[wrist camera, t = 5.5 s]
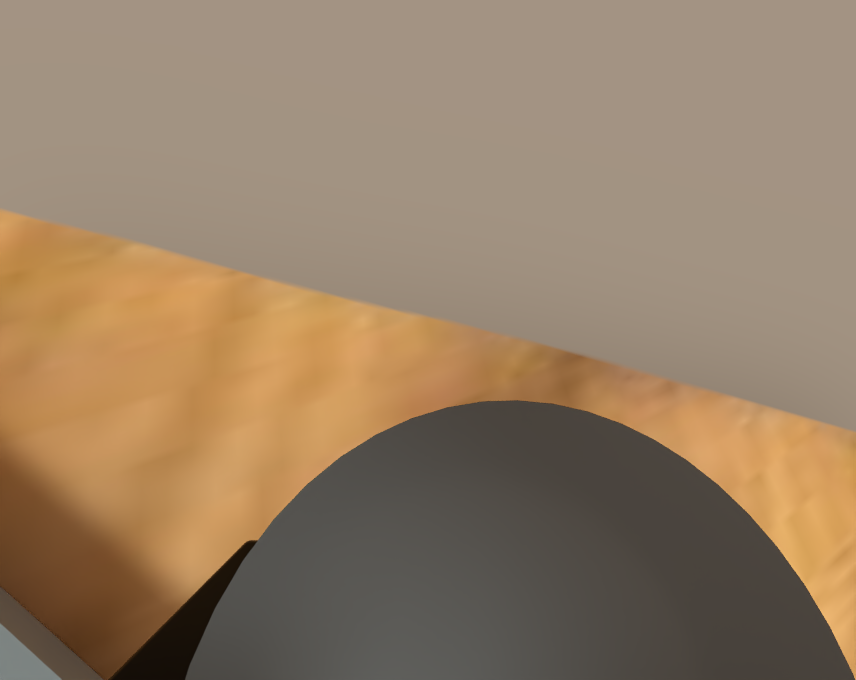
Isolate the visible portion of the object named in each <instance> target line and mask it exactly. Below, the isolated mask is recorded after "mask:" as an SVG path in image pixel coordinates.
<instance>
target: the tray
mask: <svg viewBox="0 0 856 680" xmlns="http://www.w3.org/2000/svg"><path fill="white" fill-rule="evenodd" d="M0 680H104V679H103V678H101V677H100V676H99V675H98V674H97V673H96V672H95V671H94V670H93V669H91V668H90V667H89V666H88V665H87V664H86V663H85V662H84V661H83V660H81V659H80V658H79V657H78V656H77V655H76V654H75V653H74V652H73V651H71V650H70V649H69V648H68V647H67V646H66V645H65V644H64V643H63V642H61V641H60V640H59V639H58V638H57V637H56V636H55V635H54V634H53V633H51V632H50V631H49V630H48V629H47V628H46V627H45V626H44V625H43V624H41V623H40V622H39V621H38V620H37V619H36V618H35V617H34V616H33V615H31V614H30V613H29V612H28V611H27V610H26V609H25V608H24V607H23V606H21V605H20V604H19V603H18V602H17V601H16V600H15V599H14V598H13V597H11V596H10V595H9V594H8V593H7V592H6V591H5V590H4V589H3V588H1V587H0Z"/></svg>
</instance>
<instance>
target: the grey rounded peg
mask: <svg viewBox="0 0 856 680" xmlns="http://www.w3.org/2000/svg"><path fill="white" fill-rule="evenodd" d="M185 680H855V678H854V676H853V673H852V671H851V669H850V667H849V665H848V663H847V661H846V659H845V657H844V655H843V653H842V651H841V649H840V647H839V645H838V643H837V641H836V639H835V637H834V634H833V632H832V630H831V628H830V626H829V625H828V623H827V621H826V620H825V618H824V616H823V615H822V613H821V611H820V610H819V608H818V606H817V605H816V603H815V601H814V600H813V598H812V596H811V595H810V593H809V591H808V590H807V588H806V586H805V585H804V583H803V582H802V581H801V579H800V578H799V576H798V575H797V574H796V572H795V571H794V570H793V568H792V567H791V565H790V564H789V563H788V561H787V560H786V558H785V557H784V556H783V554H782V553H781V552H780V550H779V549H778V547H777V546H776V545H775V544H774V543H773V542H772V540H771V539H770V538H769V537H768V536H767V535H766V534H765V532H764V531H763V530H762V529H761V528H760V527H759V525H758V524H757V523H756V522H755V521H754V520H753V519H752V517H751V516H750V515H749V514H748V513H747V512H746V511H745V510H744V509H743V508H742V507H741V506H740V505H739V504H738V503H737V502H735V501H734V500H733V499H732V498H731V497H730V496H729V495H728V494H727V493H726V492H725V491H724V490H723V489H722V488H721V487H720V486H719V485H718V484H716V483H715V482H714V481H713V480H711V479H710V478H709V477H707V476H706V475H705V474H704V473H702V472H701V471H700V470H699V469H697V468H696V467H695V466H693V465H692V464H691V463H690V462H688V461H687V460H686V459H684V458H682V457H681V456H679V455H678V454H676V453H674V452H673V451H671V450H670V449H668V448H667V447H665V446H663V445H662V444H660V443H659V442H657V441H655V440H654V439H652V438H650V437H648V436H646V435H643V434H641V433H639V432H637V431H635V430H633V429H631V428H629V427H627V426H625V425H623V424H621V423H618V422H615V421H612V420H610V419H607V418H604V417H601V416H598V415H596V414H593V413H590V412H587V411H582V410H578V409H574V408H569V407H565V406H560V405H556V404H549V403H539V402H528V401H518V400H517V401H487V402H477V403H471V404H465V405H459V406H453V407H447V408H444V409H441V410H437V411H434V412H431V413H428V414H424V415H421V416H418V417H415V418H411V419H409V420H407V421H405V422H403V423H400V424H398V425H396V426H394V427H392V428H390V429H387V430H385V431H383V432H381V433H379V434H376V435H375V436H373V437H372V438H370V439H368V440H367V441H365V442H364V443H362V444H360V445H359V446H357V447H356V448H354V449H352V450H351V451H349V452H348V453H346V454H344V455H343V456H341V457H340V458H339V459H338V460H336V461H335V462H334V463H333V464H331V465H330V466H329V467H328V468H327V469H325V470H324V471H323V472H322V473H320V474H319V475H318V476H317V477H316V478H314V479H313V480H312V481H311V482H309V483H308V484H307V485H306V486H305V487H304V488H303V489H302V490H301V491H300V492H299V493H298V494H297V496H296V497H295V498H294V499H293V500H292V501H291V502H290V503H289V504H288V505H287V506H286V507H285V508H284V509H283V510H282V511H281V512H280V513H279V514H278V515H277V517H276V518H275V519H274V520H273V521H272V522H271V524H270V525H269V526H268V528H267V529H266V531H265V532H264V533H263V535H262V536H261V537H260V539H259V540H258V541H257V543H256V544H255V545H254V547H253V548H252V549H251V551H250V552H249V553H248V555H247V556H246V557H245V559H244V560H243V561H242V563H241V565H240V567H239V568H238V570H237V572H236V573H235V575H234V577H233V579H232V580H231V582H230V584H229V585H228V587H227V589H226V591H225V592H224V594H223V596H222V597H221V599H220V601H219V602H218V604H217V606H216V608H215V610H214V612H213V614H212V616H211V618H210V621H209V623H208V625H207V627H206V630H205V632H204V634H203V636H202V639H201V641H200V643H199V645H198V648H197V650H196V652H195V654H194V657H193V659H192V661H191V663H190V666H189V669H188V672H187V675H186V678H185Z"/></svg>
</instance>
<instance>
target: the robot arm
mask: <svg viewBox="0 0 856 680" xmlns="http://www.w3.org/2000/svg"><path fill="white" fill-rule="evenodd" d="M257 541H258V540H250V541H247V542H246V543H244V544H243V545H242V546H241V547H240V548H239V549H238V550H237V552H236V553H235V554H234V555H233V556H232V557H231V558H230V559H229V560H228V561H227V562H226V563H225V564H224V565H223V566H222V567H221V568H220V569H219V570H218V571H217V572H216V573H215V574H214V575H213V576H212V577H211V578H210V579H209V580H208V581H207V582H206V583H205V584H204V585H203V586H202V587H201V588H200V589H199V590H198V591H197V592H196V593H195V594H194V595H193V596H192V597H191V598H190V599H189V600H188V601H187V602H186V603H185V604H184V605H183V606H182V607H181V608H180V609H179V610H178V611H177V612H176V613H175V614H174V615H173V616H172V617H171V618H170V619H169V620H168V621H167V622H166V623H165V624H164V625H163V626H162V627H161V628H160V629H159V630H158V631H157V632H156V633H155V634H154V635H153V636H152V637H151V638H150V639H149V640H148V641H147V642H146V643H145V644H144V645H143V646H142V647H141V648H140V649H139V650H138V651H137V652H136V653H135V654H134V655H133V656H132V657H131V658H130V659H129V660H128V661H127V662H126V663H125V664H124V665H123V666H122V667H121V668H120V669H119V670H118V671H117V672H116V673H115V674H114V675H113V676H112V677H111V678H110V679H109V680H185V678H186V675H187V672H188V669H189V666H190V663H191V661H192V659H193V657H194V654H195V652H196V650H197V648H198V645H199V643H200V641H201V639H202V636H203V634H204V632H205V630H206V627H207V625H208V623H209V621H210V618H211V616H212V614H213V612H214V610H215V608H216V606H217V604H218V602H219V601H220V599H221V597H222V596H223V594H224V592H225V591H226V589H227V587H228V585H229V584H230V582H231V580H232V579H233V577H234V575H235V573H236V572H237V570H238V568H239V567H240V565H241V563H242V561H243V560H244V559H245V557H246V556H247V555H248V553H249V552H250V551H251V549H252V548H253V547H254V545H255V544H256V543H257Z"/></svg>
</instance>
